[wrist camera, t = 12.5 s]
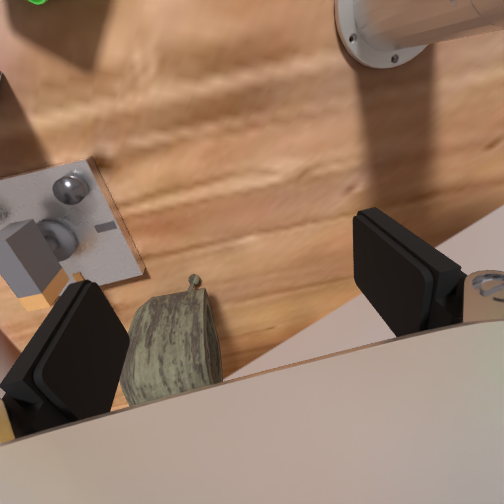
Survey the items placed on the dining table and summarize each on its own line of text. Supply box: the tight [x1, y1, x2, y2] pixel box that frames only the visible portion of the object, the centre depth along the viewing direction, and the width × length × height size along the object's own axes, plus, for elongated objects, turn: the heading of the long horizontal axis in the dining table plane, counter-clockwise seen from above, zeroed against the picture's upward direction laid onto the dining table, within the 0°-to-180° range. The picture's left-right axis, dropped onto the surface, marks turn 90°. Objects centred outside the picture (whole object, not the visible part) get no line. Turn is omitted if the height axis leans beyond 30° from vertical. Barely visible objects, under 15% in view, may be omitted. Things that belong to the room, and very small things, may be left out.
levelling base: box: [0, 156, 145, 296], centre depth 36 cm, size 16×16×4 cm
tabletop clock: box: [119, 274, 223, 406], centre depth 35 cm, size 14×9×25 cm, turn 7°
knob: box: [0, 219, 77, 312], centre depth 32 cm, size 5×8×8 cm, turn 9°
